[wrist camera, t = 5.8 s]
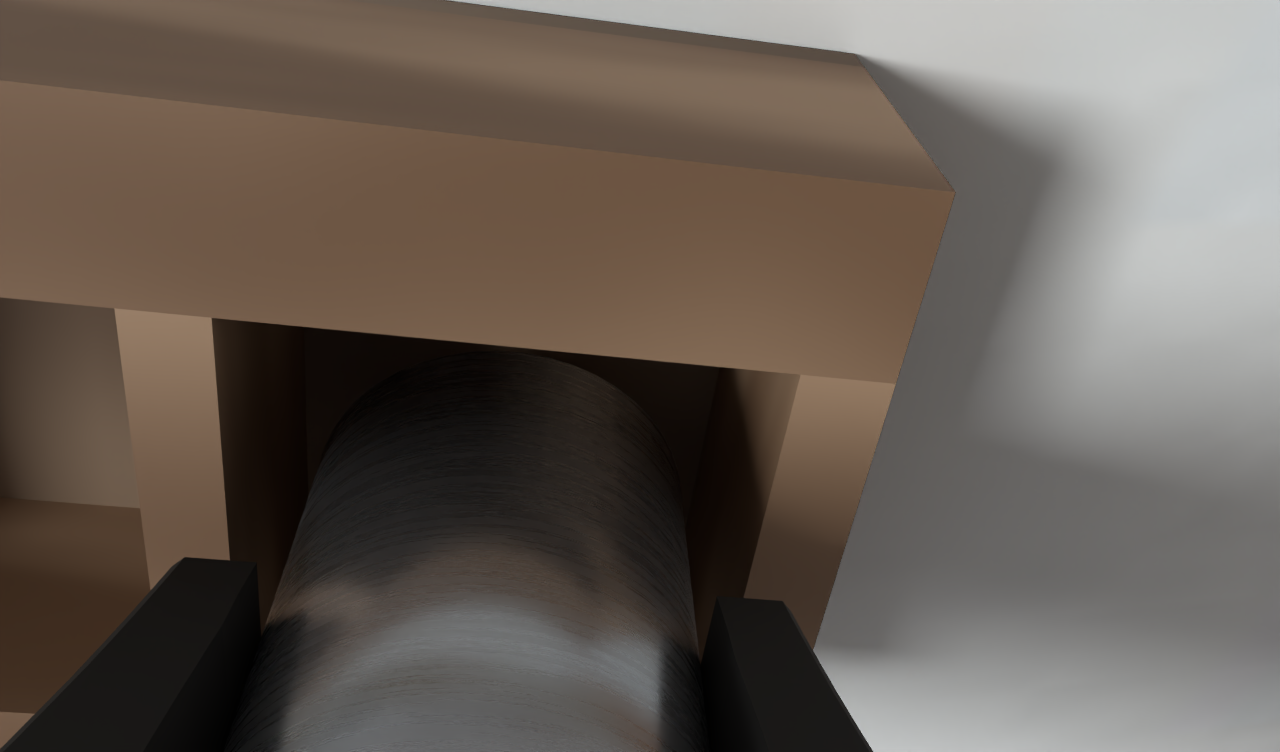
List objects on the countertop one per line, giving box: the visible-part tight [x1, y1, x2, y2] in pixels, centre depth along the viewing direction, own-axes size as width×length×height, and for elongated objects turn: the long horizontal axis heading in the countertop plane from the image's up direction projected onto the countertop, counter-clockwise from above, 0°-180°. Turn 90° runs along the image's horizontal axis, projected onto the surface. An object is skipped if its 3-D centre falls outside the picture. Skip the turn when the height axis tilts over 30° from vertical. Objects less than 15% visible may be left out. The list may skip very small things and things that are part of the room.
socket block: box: [0, 0, 956, 749], centre depth 12 cm, size 9×13×4 cm
